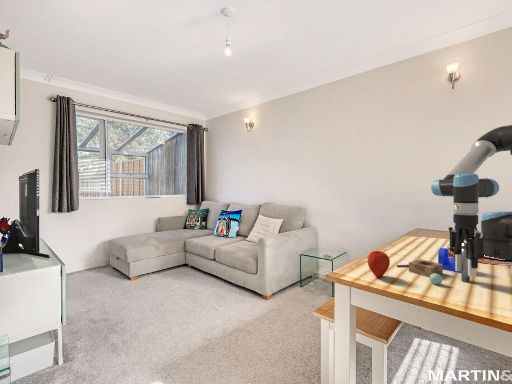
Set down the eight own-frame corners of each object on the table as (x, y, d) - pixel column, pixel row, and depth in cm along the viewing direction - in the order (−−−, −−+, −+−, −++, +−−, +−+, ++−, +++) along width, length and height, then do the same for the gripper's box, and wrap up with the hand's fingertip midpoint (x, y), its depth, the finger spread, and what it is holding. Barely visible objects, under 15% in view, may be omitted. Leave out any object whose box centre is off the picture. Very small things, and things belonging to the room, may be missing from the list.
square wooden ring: (420, 267, 115) (420, 259, 115) (442, 273, 108) (442, 264, 107) (408, 271, 111) (408, 262, 111) (431, 277, 103) (431, 268, 103)
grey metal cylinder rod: (465, 279, 100) (465, 242, 100) (472, 282, 98) (472, 243, 97) (459, 280, 100) (459, 242, 100) (465, 282, 97) (465, 244, 97)
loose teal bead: (436, 281, 99) (436, 271, 99) (445, 285, 95) (445, 275, 95) (427, 282, 99) (427, 272, 99) (434, 286, 95) (434, 275, 95)
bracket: (461, 273, 107) (461, 252, 107) (438, 268, 114) (438, 249, 114) (472, 264, 119) (472, 245, 118) (450, 260, 125) (450, 242, 125)
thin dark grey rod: (425, 265, 119) (425, 263, 119) (427, 265, 118) (427, 264, 118) (396, 266, 118) (396, 265, 118) (397, 267, 117) (397, 265, 117)
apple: (392, 281, 101) (392, 254, 100) (369, 279, 103) (368, 253, 103) (387, 273, 109) (387, 249, 108) (366, 272, 111) (366, 248, 111)
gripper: (438, 211, 107) (438, 266, 107) (478, 217, 89) (478, 282, 90) (455, 211, 107) (455, 265, 108) (498, 216, 89) (498, 281, 90)
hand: (465, 273), depth 99 cm, fingers open, 5 cm apart
